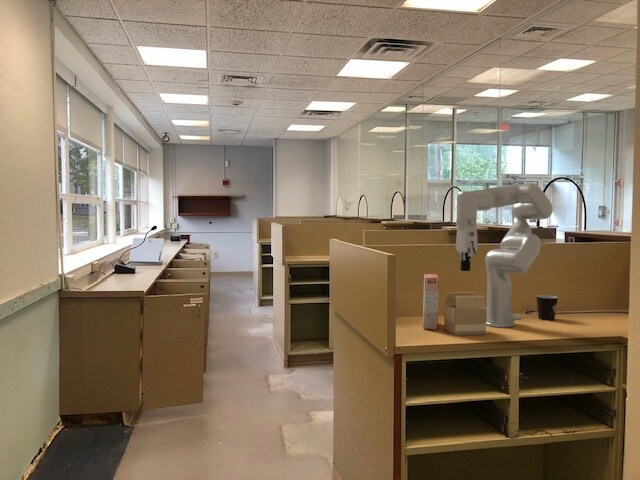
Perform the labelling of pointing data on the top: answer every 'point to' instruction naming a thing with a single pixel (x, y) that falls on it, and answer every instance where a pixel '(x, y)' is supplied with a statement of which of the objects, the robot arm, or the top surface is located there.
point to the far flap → (452, 295)
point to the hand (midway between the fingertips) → (465, 270)
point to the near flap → (470, 302)
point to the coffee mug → (546, 307)
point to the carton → (465, 320)
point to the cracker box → (430, 301)
